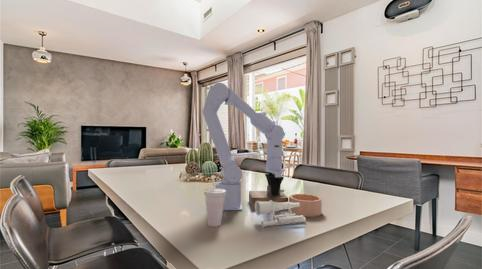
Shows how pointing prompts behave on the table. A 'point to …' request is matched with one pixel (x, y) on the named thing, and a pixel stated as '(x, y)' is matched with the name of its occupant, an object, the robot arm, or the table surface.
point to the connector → (270, 190)
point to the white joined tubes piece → (276, 206)
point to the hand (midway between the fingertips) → (273, 194)
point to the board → (265, 197)
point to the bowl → (306, 205)
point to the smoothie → (214, 204)
